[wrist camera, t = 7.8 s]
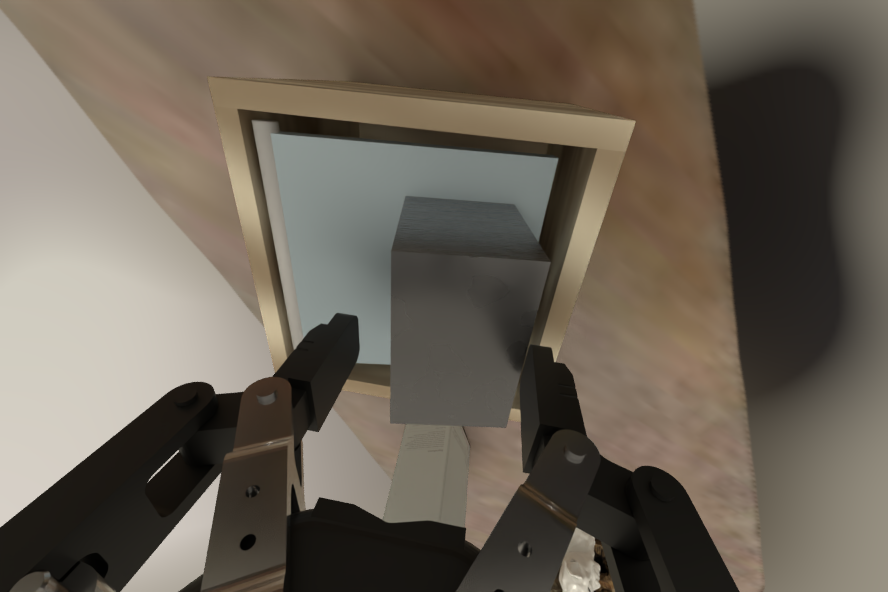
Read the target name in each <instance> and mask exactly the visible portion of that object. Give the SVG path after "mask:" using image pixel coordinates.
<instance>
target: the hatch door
mask: <svg viewBox="0 0 888 592" xmlns="http://www.w3.org/2000/svg"><path fill="white" fill-rule="evenodd" d="M252 125H253V130H254V136H255V141H256V147H257V152H258V158H259V163H260V169H261V174H262V179H263V185H264V190H265V196H266V201H267V207H268V212H269V218H270V223H271V228H272V234H273V239H274V245H275V250H276V256H277V261H278V267H279V272H280V278H281V283H282V288H283V294H284V299H285V305H286V310H287V316H288V321H289V327H290V332H291V337H292V343H293V348H294V349H296V347H297V346H298V344H299V343H300V342H302V339H303V338H304V337H305V336H306V334H307V333H308V332H309V331H310V330H311V329H313V328H315V327H316V326H318V325H319V324H321V323H322V324H328V323H329V322H330V320H331V319H332V318H333V316H334V315H335V314H336V313H343V314H349V315H355V316H357V317H358V324H359V342H360V351H359V356H358V360H357V362H356V363H366V364H386V365H390V364H391V249H392V245H393V242H394V238H395V234H396V230H397V226H398V222H399V219H400V215H401V211H402V207H403V203H404V199H405V196H415V197H428V198H441V199H454V200H467V201H479V202H492V203H505V204H515V206H516V208H517V209H518V211H519V212H520V214H521V215H522V217H523V219H524V220H525V222H526V223H527V225H528V227H529V228H530V230H531V231H532V233H533V234H534V236H535V238H536V239H537V241H539V237H540V233H541V229H542V225H543V221H544V216H545V212H546V208H547V204H548V200H549V196H550V192H551V187H552V183H553V179H554V175H555V171H556V167H557V163H558V159H559V158H557V157H556V156H554V155H548V154H536V153H525V152H513V151H502V150H490V149H479V148H467V147H456V146H444V145H433V144H422V143H410V142H399V141H387V140H376V139H364V138H353V137H341V136H330V135H318V134H307V133H295V132H284V131H280V129H279V122H278V121H276V120H266V119H255V120H252Z"/></svg>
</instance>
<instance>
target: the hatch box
mask: <svg viewBox="0 0 888 592" xmlns="http://www.w3.org/2000/svg"><path fill="white" fill-rule="evenodd" d="M207 79H208V83H209V88H210V92H211V96H212V101H213V105H214V110H215V114H216V118H217V123H218V127H219V131H220V136H221V140H222V144H223V149H224V153H225V157H226V162H227V166H228V170H229V175H230V179H231V183H232V188H233V192H234V196H235V201H236V205H237V209H238V214H239V218H240V222H241V227H242V231H243V236H244V240H245V244H246V249H247V253H248V257H249V262H250V266H251V270H252V275H253V279H254V283H255V288H256V292H257V296H258V301H259V305H260V309H261V314H262V318H263V322H264V327H265V331H266V335H267V340H268V344H269V348H270V353H271V357H272V361H273V366H274V370H275V373H276V372H277V370H278V369H279V368H280V367H281V365H282V364H283V363H284V362H285V360H286V359H287V358H288V357H289V355H290V354H291V353H292V352H293V350H294V348H293V343H292V337H291V332H290V327H289V321H288V316H287V310H286V305H285V299H284V294H283V288H282V283H281V278H280V272H279V267H278V261H277V256H276V250H275V245H274V239H273V234H272V228H271V223H270V218H269V212H268V207H267V201H266V196H265V190H264V185H263V179H262V174H261V169H260V163H259V158H258V152H257V147H256V141H255V136H254V130H253V125H252V120H255V119H266V120H276V121H278V122H279V129H280V131H284V132H295V133H307V134H318V135H330V136H341V137H353V138H364V139H376V140H387V141H399V142H410V143H422V144H433V145H444V146H456V147H467V148H479V149H490V150H502V151H513V152H525V153H536V154H548V155H554V156H556V157H557V158H559V159H558V163H557V167H556V171H555V175H554V179H553V183H552V187H551V192H550V196H549V200H548V204H547V208H546V212H545V216H544V221H543V225H542V229H541V233H540V237H539V241H538V242H539V244H540V246H541V247H542V249H543V250H544V252H545V253H546V255H547V257H548V258H549V260H550V261H551V263H550V267H549V271H548V274H547V278H546V282H545V286H544V289H543V293H542V297H541V300H540V304H539V308H538V311H537V315H536V319H535V323H534V326H533V330H532V334H531V337H530V341H529V345H528V348H527V352H528V349H529V346H530V344H533V345H539V346H545V347H551V348H552V352H553V358H554V362H556V359H557V356H558V353H559V350H560V347H561V344H562V341H563V338H564V335H565V332H566V329H567V326H568V323H569V320H570V317H571V314H572V311H573V308H574V305H575V302H576V299H577V296H578V293H579V290H580V287H581V284H582V281H583V278H584V275H585V272H586V269H587V266H588V263H589V260H590V257H591V254H592V251H593V248H594V245H595V242H596V239H597V236H598V233H599V230H600V227H601V224H602V221H603V218H604V215H605V212H606V209H607V206H608V203H609V200H610V197H611V194H612V191H613V188H614V185H615V182H616V179H617V176H618V173H619V170H620V167H621V164H622V161H623V158H624V155H625V152H626V149H627V146H628V143H629V140H630V137H631V134H632V131H633V128H634V125H635V122H636V121H634V120H630V119H626V118H622V117H619V116H615V115H611V114H607V113H604V112H600V111H596V110H592V109H589V108H585V107H581V106H577V105H574V104H567V103H557V102H547V101H537V100H527V99H517V98H507V97H498V96H488V95H478V94H468V93H458V92H448V91H438V90H428V89H418V88H409V87H399V86H389V85H379V84H369V83H359V82H349V81H323V80H293V79H263V78H233V77H207ZM527 352H526V356H527ZM526 356H525V360H526ZM525 360H524V363H525ZM524 363H523V367H524ZM523 367H522V371H523ZM522 371H521V374H520V378H519V382H518V385H517V389H516V393H515V397H514V400H513V404H512V408H511V411H510V415H509V419H508V420H512V421H517V422H521V414H520V380H521V375H522ZM342 390H345V391H350V392H356V393H361V394H367V395H372V396H378V397H384V398H389V399H390V365H386V364H366V363H356V364H355V366H354V368H353V370H352V371H351V373H350V375H349V377H348V379H347V381H346V382H345V384H344V386H343V388H342Z"/></svg>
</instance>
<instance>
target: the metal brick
mask: <svg viewBox="0 0 888 592" xmlns="http://www.w3.org/2000/svg"><path fill="white" fill-rule="evenodd" d="M550 263H551V261H550V260H549V258H548V257H547V255H546V253H545V252H544V250H543V249H542V247H541V246H540V244H539V242H538V241H537V239H536V238H535V236H534V234H533V233H532V231H531V230H530V228H529V227H528V225H527V223H526V222H525V220H524V219H523V217H522V215H521V214H520V212H519V211H518V209H517V208H516V206H515V204H505V203H492V202H479V201H467V200H454V199H441V198H428V197H415V196H405V199H404V203H403V207H402V211H401V215H400V219H399V222H398V226H397V230H396V234H395V238H394V242H393V245H392V249H391V364H390V423H396V424H422V425H448V426H475V427H501V428H506V426H507V422H508V419H509V415H510V411H511V408H512V404H513V400H514V397H515V393H516V389H517V385H518V382H519V378H520V374H521V371H522V367H523V363H524V360H525V356H526V352H527V348H528V345H529V341H530V337H531V334H532V330H533V326H534V323H535V319H536V315H537V311H538V308H539V304H540V300H541V297H542V293H543V289H544V286H545V282H546V278H547V274H548V271H549V267H550Z"/></svg>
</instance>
